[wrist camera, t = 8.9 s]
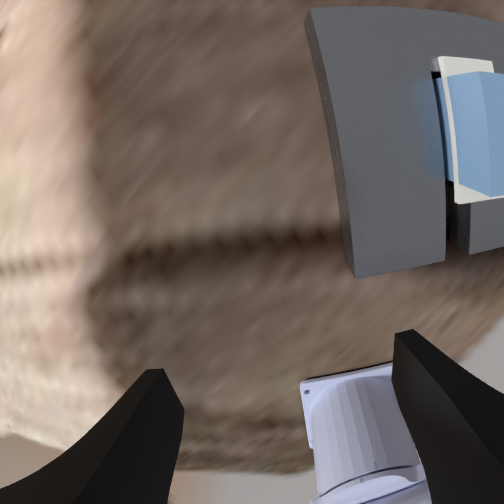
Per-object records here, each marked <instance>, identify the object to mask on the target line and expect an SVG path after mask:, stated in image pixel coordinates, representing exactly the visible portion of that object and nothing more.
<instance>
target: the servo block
mask: <svg viewBox="0 0 504 504" xmlns="http://www.w3.org/2000/svg"><path fill="white" fill-rule="evenodd" d="M438 62H439V66H440V71H441V76H442V77H441V78H436V79H432V81H433V86H434V91H435V97H436V103H437V110H438V116H439V124H440V132H441V140H442V150H443V162H444V176H445V179H447V180H450V181H452V182H454V199H455V202H456V203H458V204H464V203H471V202H477V201H484V200H490V199H497V198H503V197H504V74H499V73H494V69H493V64H492V61H488V60H480V59H471V58H461V57H449V56H441V57H438Z"/></svg>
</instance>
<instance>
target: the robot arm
mask: <svg viewBox="0 0 504 504" xmlns="http://www.w3.org/2000/svg"><path fill="white" fill-rule="evenodd" d="M305 390H308V391H305ZM300 391H301V397H302V403H303V409H304V415H305V421H306V428H307V434H308V440H309V447H310V448H312V449H313V450H314V460H315V470H316V479H317V489H318V498H317V499H313V500H311V501H310V504H504V394H503V393H501V392H499V391H497V390H495V389H494V388H492V387H491V386H489V385H487V384H486V383H484V382H483V381H481V380H480V379H478V378H476V377H475V376H474V375H472V374H471V373H469V372H468V371H467V370H465V369H464V368H462V367H461V366H460V365H458V364H457V363H456V362H454V361H453V360H452V359H450V358H449V357H448V356H447V355H445V354H444V353H443V352H441V351H440V350H439V349H438V348H436V347H435V346H434V345H433V344H431V343H430V342H429V341H428V340H426V339H425V338H424V337H423V336H421V335H420V334H419V333H418V332H416V331H415V330H414V329H411V330H407V331H403V332H399V333H395V340H394V354H393V362H392V363H388V364H384V365H379V366H375V367H371V368H366V369H362V370H357V371H352V372H348V373H343V374H337V375H332V376H327V377H321V378H315V379H309V380H304V381H302V382H301V383H300ZM183 420H184V408H183V406H182V404H181V402H180V400H179V398H178V397H177V395H176V393H175V391H174V389H173V387H172V385H171V383H170V381H169V379H168V377H167V375H166V373H165V371H164V369H147V370H146V371H145V372H144V373H143V374H142V375H141V376H140V377H139V378H138V379H137V380H136V381H135V382H134V384H133V385H132V386H131V387H130V388H129V389H128V390H127V391H126V392H125V394H124V395H123V396H122V397H121V398H120V399H119V400H118V401H117V402H116V403H115V405H114V406H113V407H112V408H111V409H110V410H109V411H108V412H107V413H106V414H105V415H104V416H103V417H102V418H101V419H100V420H99V421H98V422H97V423H96V424H95V425H94V426H93V427H92V428H91V429H90V430H89V431H88V432H87V433H86V434H85V435H84V436H83V437H82V438H81V439H80V440H79V441H77V442H76V443H75V444H74V445H73V446H71V447H70V448H69V449H68V450H67V451H65V452H64V453H63V454H62V455H60V456H59V457H57V458H56V459H55V460H53V461H51V462H50V463H48V464H47V465H45V466H44V467H42V468H41V469H40V470H38V471H36V472H35V473H33V474H31V475H29V476H27V477H25V478H23V479H21V480H19V481H17V482H15V483H13V484H11V485H9V486H6V487H3V488H1V489H0V504H167V502H168V496H169V490H170V486H171V481H172V477H173V473H174V468H175V464H176V460H177V456H178V451H179V447H180V443H181V438H182V430H183ZM412 439H413V440H412ZM413 442H414V443H413ZM414 444H415V445H414ZM415 447H416V448H415ZM416 449H417V451H416ZM417 452H418V454H419V457H420V459H421V462H422V463H420V460H419V457H418V454H417Z"/></svg>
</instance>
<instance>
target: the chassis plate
mask: <svg viewBox="0 0 504 504" xmlns="http://www.w3.org/2000/svg"><path fill="white" fill-rule="evenodd" d="M304 27H305V30H306V34H307V38H308V42H309V46H310V50H311V54H312V59H313V63H314V67H315V72H316V76H317V81H318V85H319V90H320V95H321V100H322V105H323V110H324V115H325V120H326V125H327V131H328V137H329V142H330V148H331V154H332V160H333V167H334V173H335V180H336V187H337V194H338V202H339V209H340V217H341V226H342V235H343V244H344V254H345V261H346V263H347V265H348V267H349V269H350V270H351V272H352V274H353V276H354V278H355V279H359V278H364V277H370V276H375V275H380V274H384V273H389V272H394V271H399V270H404V269H409V268H413V267H418V266H423V265H427V264H432V263H436V262H441V261H445V248H446V197H445V176H444V162H443V150H442V140H441V132H440V124H439V116H438V110H437V103H436V97H435V91H434V86H433V81H432V76H436V77H442V76H441V71H440V66H439V62H438V57H441V56H449V57H461V58H471V59H480V60H488V61H492V64H493V69H494V73H499V74H504V23H502V22H498V21H494V20H489V19H485V18H480V17H475V16H470V15H464V14H458V13H452V12H445V11H437V10H428V9H418V8H405V7H385V6H346V7H325V8H311V9H309V11H308V14H307V17H306V19H305V22H304ZM449 194H450V241H451V242H453V243H454V244H455V245H457V246H458V247H459V248H461V249H462V250H463V251H465V252H466V253H467V254H468V255H471V254H475V253H479V252H483V251H487V250H491V249H495V248H499V247H503V246H504V197H503V198H497V199H490V200H484V201H477V202H471V203H464V204H458V203H456V202H455V199H454V186H449Z"/></svg>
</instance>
